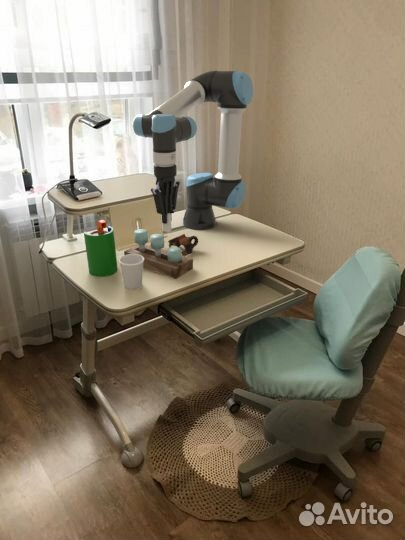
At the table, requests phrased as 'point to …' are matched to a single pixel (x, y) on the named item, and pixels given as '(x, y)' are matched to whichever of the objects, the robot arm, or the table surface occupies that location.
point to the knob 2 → (157, 243)
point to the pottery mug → (184, 243)
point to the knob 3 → (174, 254)
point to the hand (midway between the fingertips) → (167, 230)
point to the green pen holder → (101, 251)
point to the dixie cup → (132, 270)
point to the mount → (162, 262)
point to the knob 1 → (141, 238)
